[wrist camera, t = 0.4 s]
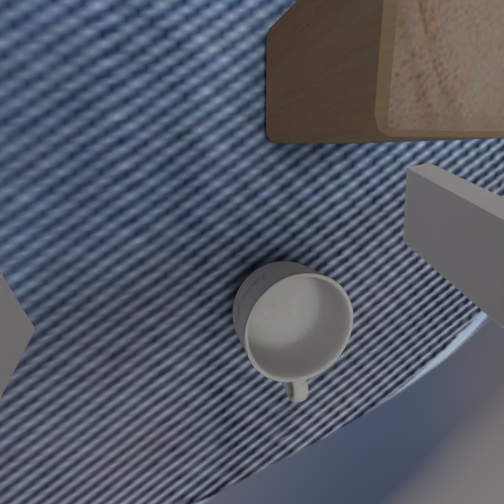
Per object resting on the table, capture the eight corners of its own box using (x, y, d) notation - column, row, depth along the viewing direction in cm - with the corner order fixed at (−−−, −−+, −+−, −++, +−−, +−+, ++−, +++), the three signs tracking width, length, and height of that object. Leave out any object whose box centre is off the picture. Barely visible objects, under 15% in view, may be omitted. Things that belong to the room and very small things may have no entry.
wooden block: (362, 36, 36) (592, -88, 17) (354, 143, 39) (547, 137, 20) (263, 28, 33) (407, -127, 15) (262, 143, 36) (384, 135, 17)
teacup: (232, 248, 38) (252, 272, 31) (327, 254, 41) (367, 277, 34) (218, 369, 41) (233, 417, 34) (307, 366, 44) (339, 410, 37)
